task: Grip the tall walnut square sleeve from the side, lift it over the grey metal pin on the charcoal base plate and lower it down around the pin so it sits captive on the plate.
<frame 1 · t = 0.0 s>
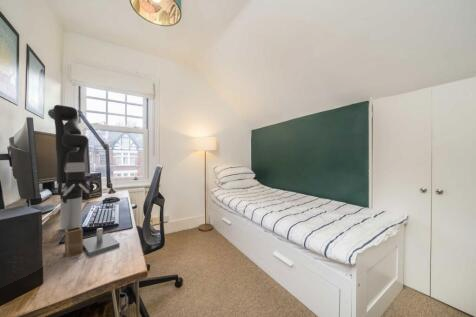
hand: (76, 201, 97), 17 cm above the table, tool pointing down, fingers open, 8 cm apart
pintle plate: (99, 244, 85), on the table
sleeve: (73, 252, 78), on the table
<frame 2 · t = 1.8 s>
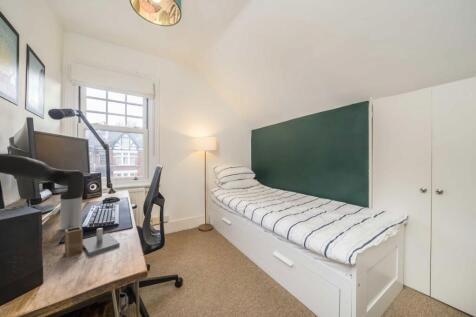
hand: (35, 210, 69), 20 cm above the table, tool horizontal, fingers open, 8 cm apart
nothing on the table moved.
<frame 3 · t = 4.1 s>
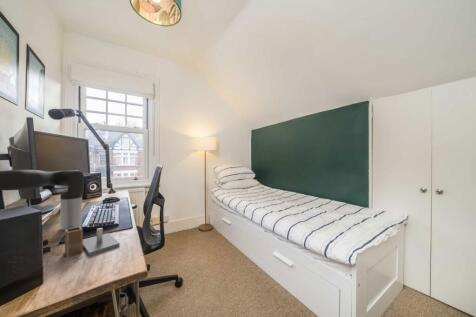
hand: (49, 245, 72), 6 cm above the table, tool horizontal, fingers open, 8 cm apart
nothing on the table moved.
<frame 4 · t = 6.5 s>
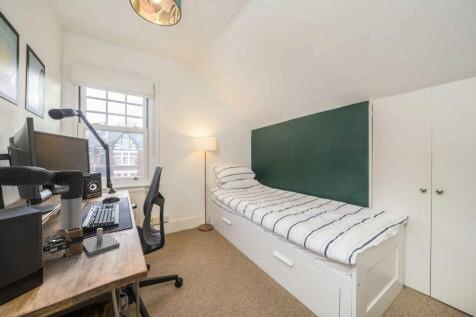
hand: (81, 236, 80), 6 cm above the table, tool horizontal, fingers closed on sleeve, 5 cm apart
sleeve: (73, 252, 78), on the table, touching gripper
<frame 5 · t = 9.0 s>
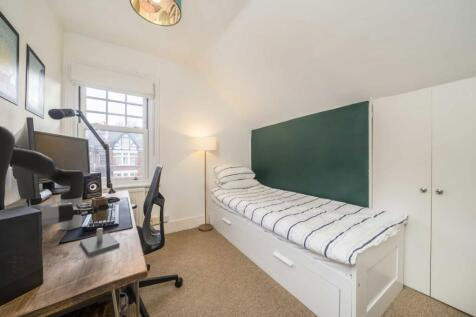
hand: (106, 205, 86), 18 cm above the table, tool horizontal, fingers closed on sleeve, 5 cm apart
sleeve: (99, 219, 84), point 12 cm above the table, touching gripper
when the fingers open (9 cm above the table, at t = 11.6 s): sleeve drops 1 cm, resting on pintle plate.
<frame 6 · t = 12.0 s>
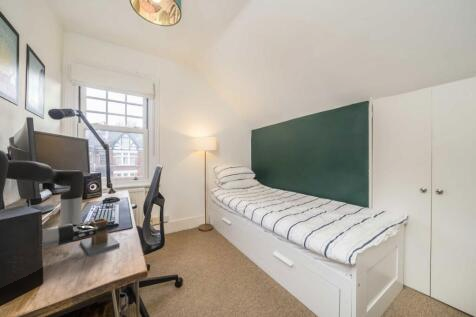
hand: (104, 224, 86), 9 cm above the table, tool horizontal, fingers open, 8 cm apart
sleeve: (99, 241, 84), point 1 cm above the table, touching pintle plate
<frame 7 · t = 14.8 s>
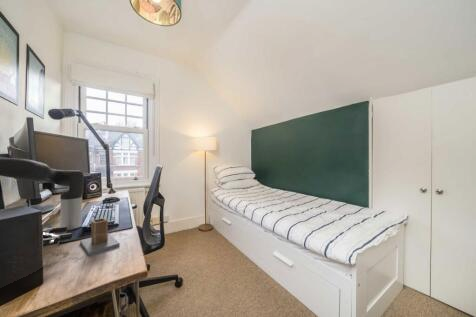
hand: (69, 232, 77), 9 cm above the table, tool horizontal, fingers open, 8 cm apart
nothing on the table moved.
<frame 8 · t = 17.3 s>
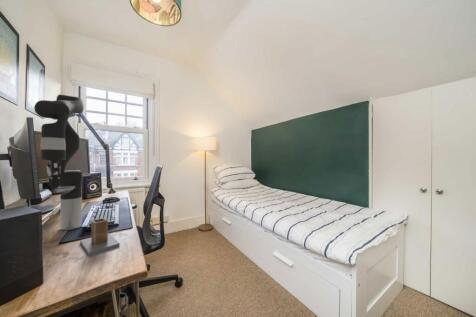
hand: (53, 186, 77), 28 cm above the table, tool pointing down, fingers open, 8 cm apart
nothing on the table moved.
at the end: sleeve 0.0 cm from the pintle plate (horizontally); sleeve point 1.5 cm above the table; sleeve tilted 0° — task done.
